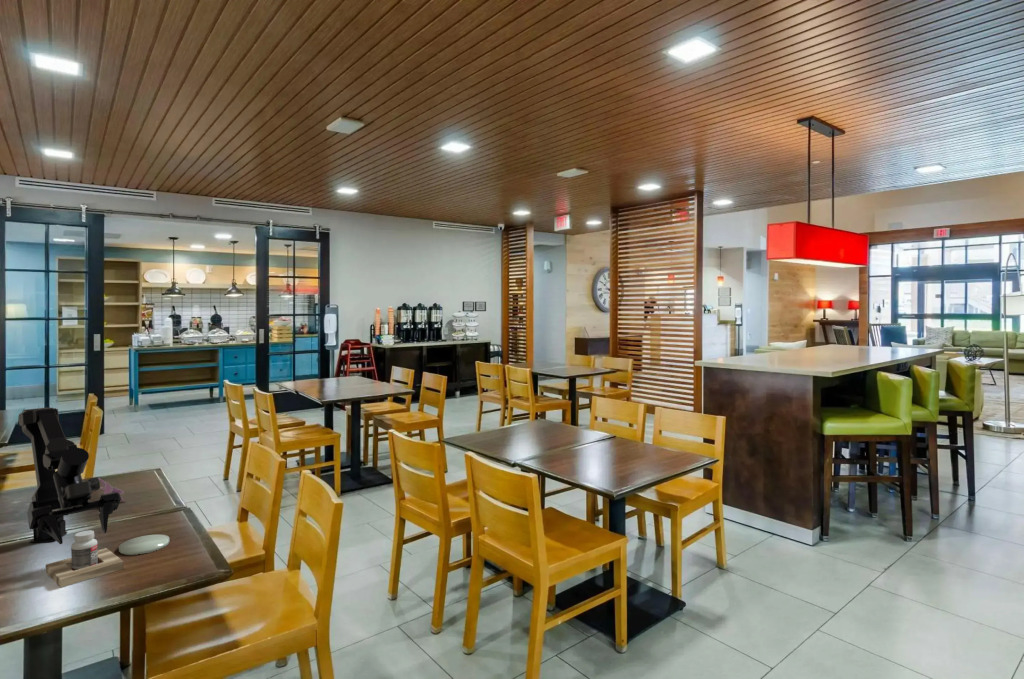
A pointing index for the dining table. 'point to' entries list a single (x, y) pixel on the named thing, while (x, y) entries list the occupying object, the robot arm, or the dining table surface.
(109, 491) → the lily
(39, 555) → the dining table surface
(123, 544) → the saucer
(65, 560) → the socket block
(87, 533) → the pill bottle
